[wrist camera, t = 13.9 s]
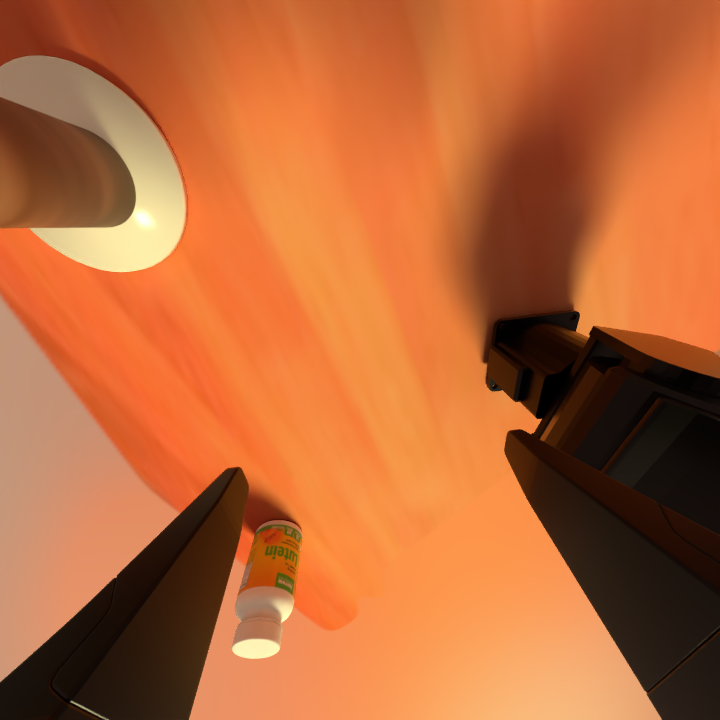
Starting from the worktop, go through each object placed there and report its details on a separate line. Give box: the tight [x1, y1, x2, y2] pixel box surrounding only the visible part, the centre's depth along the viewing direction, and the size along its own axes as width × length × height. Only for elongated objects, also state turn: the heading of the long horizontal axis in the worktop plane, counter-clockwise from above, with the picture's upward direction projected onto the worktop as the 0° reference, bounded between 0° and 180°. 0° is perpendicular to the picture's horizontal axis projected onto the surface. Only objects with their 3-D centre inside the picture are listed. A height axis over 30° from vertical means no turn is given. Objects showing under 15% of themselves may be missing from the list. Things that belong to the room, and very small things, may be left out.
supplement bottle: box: [232, 520, 302, 659], centre depth 27 cm, size 5×5×10 cm
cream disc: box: [0, 55, 188, 272], centre depth 15 cm, size 10×10×1 cm
